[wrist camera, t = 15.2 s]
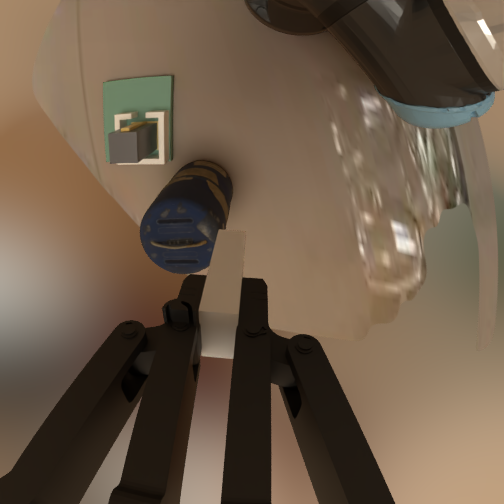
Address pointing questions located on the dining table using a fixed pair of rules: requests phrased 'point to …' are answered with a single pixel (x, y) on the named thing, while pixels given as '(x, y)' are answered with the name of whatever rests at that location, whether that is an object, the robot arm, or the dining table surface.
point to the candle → (187, 218)
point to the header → (161, 134)
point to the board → (137, 103)
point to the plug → (132, 142)
